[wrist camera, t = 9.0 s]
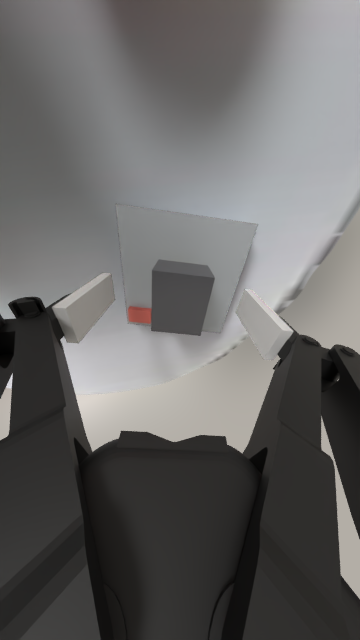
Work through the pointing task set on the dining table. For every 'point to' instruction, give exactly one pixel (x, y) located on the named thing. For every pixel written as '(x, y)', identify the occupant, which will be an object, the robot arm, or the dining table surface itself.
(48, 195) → the dining table surface
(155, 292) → the plug
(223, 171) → the dining table surface
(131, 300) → the socket plate
